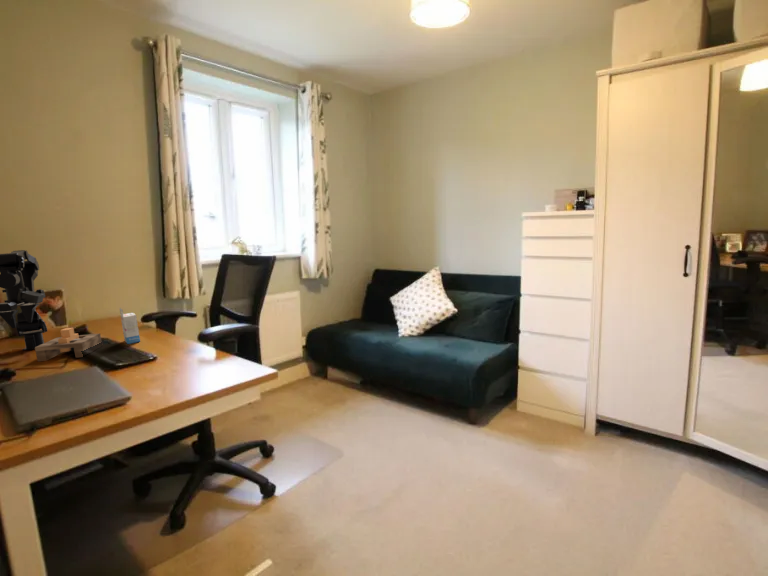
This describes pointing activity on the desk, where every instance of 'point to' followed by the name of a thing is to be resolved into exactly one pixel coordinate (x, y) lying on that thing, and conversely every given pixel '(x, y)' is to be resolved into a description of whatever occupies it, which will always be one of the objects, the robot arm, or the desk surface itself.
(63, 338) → the pale wooden stand block
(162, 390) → the desk surface
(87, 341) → the hook shelf
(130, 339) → the ink box
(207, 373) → the desk surface
